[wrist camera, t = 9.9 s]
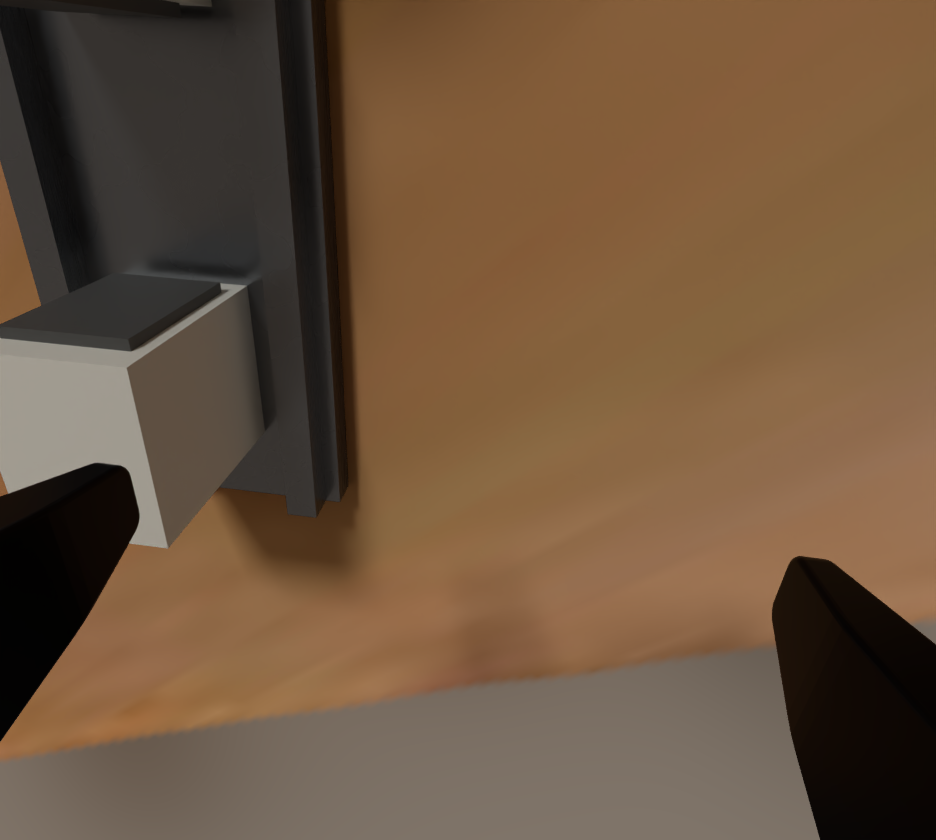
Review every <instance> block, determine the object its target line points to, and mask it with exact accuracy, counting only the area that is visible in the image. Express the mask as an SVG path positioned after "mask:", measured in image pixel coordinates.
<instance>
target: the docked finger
mask: <svg viewBox="0 0 936 840" xmlns="http://www.w3.org/2000/svg"><path fill="white" fill-rule="evenodd" d="M0 5H2V6H11V7H20V8H29V9H37V10H46V11H55V12H74V13H94V14H113V15H132V16H151V17H170V18H181V12H180V5H188V6H208V7H212V2H211V0H0Z"/></svg>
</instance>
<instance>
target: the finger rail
mask: <svg viewBox="0 0 936 840" xmlns="http://www.w3.org/2000/svg"><path fill="white" fill-rule="evenodd" d="M211 2H212V7H208V6H188V5H180V12H181V18H170V17H151V16H132V15H113V14H94V13H74V12H55V11H46V10H37V9H29V8H20V7H11V6H2V5H0V161H1V165H2V168H3V172H4V175H5V179H6V182H7V186H8V189H9V193H10V196H11V200H12V203H13V207H14V210H15V214H16V217H17V221H18V224H19V228H20V232H21V235H22V239H23V242H24V246H25V249H26V253H27V256H28V260H29V263H30V267H31V270H32V274H33V277H34V281H35V284H36V288H37V291H38V295H39V298H40V302H41V305H44V304H46V303H49V302H51V301H53V300H55V299H57V298H60V297H62V296H64V295H66V294H69V293H71V292H73V291H75V290H77V289H80V288H82V287H84V286H86V285H88V284H91V283H93V282H95V281H97V280H100V279H102V278H104V277H106V276H108V275H111V274H113V273H121V274H132V275H143V276H154V277H166V278H177V279H188V280H199V281H210V282H220V283H223V284H234V285H245V286H247V289H248V297H249V305H250V313H251V321H252V330H253V338H254V346H255V354H256V363H257V371H258V379H259V387H260V395H261V404H262V412H263V420H264V428H265V432H264V433H263V435H262V436H261V437H260V438H259V439H258V441H257V442H256V443H255V444H254V445H253V447H252V448H251V449H250V450H249V452H248V453H247V454H246V455H245V456H244V458H243V459H242V460H241V461H240V462H239V464H238V465H237V466H236V467H235V468H234V470H233V471H232V472H231V473H230V474H229V476H228V477H227V478H226V479H225V480H224V482H223V483H222V484H221V485H220V486H219V487H221V488H230V489H238V490H246V491H254V492H262V493H270V494H278V495H286V503H287V512H288V514H291V515H299V516H307V517H315V518H316V517H317V516H318V514H319V512H320V510H321V508H322V507H323V505H324V503H325V501H326V500H327V501H336V502H340V501H341V499H342V497H343V495H344V493H345V491H346V489H347V487H348V469H347V449H346V429H345V408H344V388H343V368H342V348H341V328H340V307H339V287H338V267H337V247H336V227H335V206H334V186H333V166H332V146H331V126H330V106H329V85H328V65H327V45H326V25H325V5H324V0H211Z"/></svg>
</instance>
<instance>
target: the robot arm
mask: <svg viewBox="0 0 936 840" xmlns="http://www.w3.org/2000/svg"><path fill="white" fill-rule="evenodd" d="M139 519H140V513H139V508H138V504H137V500H136V496H135V491H134V487H133V483H132V479H131V476H130V473H129V471H128V470H127V469H126V468H125V467H123V466H121V465H114V464H106V463H92V464H89V465H86V466H83V467H81V468H78V469H75V470H72V471H70V472H67V473H64V474H61V475H58V476H56V477H53V478H50V479H47V480H45V481H42V482H39V483H36V484H34V485H31V486H28V487H25V488H22V489H20V490H17V491H14V492H11V493H9V494H6V495H3V496H0V741H1V740H2V739H3V737H4V736H5V734H6V733H7V731H8V730H9V729H10V727H11V726H12V724H13V723H14V722H15V720H16V719H17V717H18V716H19V714H20V713H21V712H22V710H23V709H24V707H25V706H26V704H27V703H28V702H29V700H30V699H31V697H32V696H33V695H34V693H35V692H36V690H37V689H38V687H39V686H40V685H41V683H42V682H43V680H44V679H45V678H46V676H47V675H48V673H49V672H50V670H51V669H52V668H53V666H54V665H55V663H56V662H57V660H58V659H59V658H60V656H61V655H62V653H63V652H64V651H65V649H66V648H67V646H68V645H69V643H70V642H71V641H72V639H73V638H74V636H75V635H76V633H77V632H78V630H79V629H80V627H81V626H82V624H83V623H84V621H85V620H86V618H87V616H88V615H89V613H90V611H91V610H92V608H93V606H94V605H95V603H96V601H97V599H98V597H99V596H100V594H101V592H102V590H103V589H104V587H105V585H106V583H107V582H108V580H109V578H110V576H111V574H112V573H113V571H114V569H115V567H116V566H117V564H118V562H119V560H120V559H121V557H122V555H123V553H124V551H125V550H126V548H127V546H128V544H129V543H130V541H131V539H132V537H133V535H134V534H135V532H136V530H137V527H138V524H139ZM772 623H773V629H774V635H775V641H776V647H777V653H778V659H779V666H780V672H781V678H782V684H783V690H784V697H785V703H786V709H787V715H788V720H789V726H790V731H791V736H792V740H793V744H794V748H795V751H796V755H797V759H798V762H799V766H800V769H801V773H802V777H803V780H804V784H805V787H806V791H807V794H808V798H809V802H810V805H811V809H812V812H813V816H814V819H815V823H816V827H817V830H818V834H819V837H820V840H936V644H935V643H933V642H932V641H931V640H930V639H928V638H927V637H926V636H924V635H923V634H922V633H921V632H919V631H918V630H917V629H916V628H914V627H913V626H912V625H911V624H909V623H908V622H907V621H906V620H904V619H903V618H902V617H901V616H899V615H898V614H897V613H896V612H894V611H893V610H892V609H891V608H889V607H888V606H887V605H886V604H884V603H883V602H882V601H881V600H879V599H878V598H877V597H876V596H874V595H873V594H872V593H871V592H869V591H868V590H867V589H865V588H864V587H863V586H862V585H860V584H859V583H858V582H857V581H855V580H854V579H853V578H852V577H850V576H849V575H848V574H847V573H845V572H844V571H843V570H842V569H840V568H839V567H838V566H837V565H835V564H834V563H833V562H831V561H829V560H826V559H819V558H811V557H804V556H798V557H795V558H793V559H792V560H791V562H790V563H789V565H788V567H787V570H786V572H785V575H784V577H783V580H782V582H781V585H780V588H779V590H778V593H777V595H776V598H775V600H774V603H773V608H772Z"/></svg>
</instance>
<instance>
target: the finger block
mask: <svg viewBox="0 0 936 840" xmlns="http://www.w3.org/2000/svg"><path fill="white" fill-rule="evenodd" d="M264 432H265V428H264V420H263V412H262V404H261V395H260V387H259V379H258V371H257V363H256V354H255V346H254V338H253V330H252V321H251V313H250V305H249V297H248V289H247V286H245V285H234V284H223V283H220V282H210V281H199V280H188V279H177V278H166V277H154V276H143V275H132V274H121V273H113V274H111V275H108V276H106V277H104V278H102V279H100V280H97V281H95V282H93V283H91V284H88V285H86V286H84V287H82V288H80V289H77V290H75V291H73V292H71V293H69V294H66V295H64V296H62V297H60V298H57V299H55V300H53V301H51V302H49V303H46V304H44V305H42V306H40V307H38V308H35V309H33V310H31V311H29V312H26V313H24V314H22V315H20V316H18V317H15V318H13V319H11V320H9V321H7V322H4V323H2V324H0V472H1V474H2V477H3V480H4V483H5V485H6V488H7V491H8V494H9V493H11V492H14V491H17V490H20V489H22V488H25V487H28V486H31V485H34V484H36V483H39V482H42V481H45V480H47V479H50V478H53V477H56V476H58V475H61V474H64V473H67V472H70V471H72V470H75V469H78V468H81V467H83V466H86V465H89V464H92V463H106V464H114V465H121V466H123V467H125V468H126V469H127V470H128V471H129V473H130V476H131V479H132V483H133V487H134V491H135V496H136V500H137V504H138V508H139V513H140V519H139V524H138V527H137V530H136V532H135V534H134V535H133V537H132V539H131V541H130V543H131V544H138V545H146V546H153V547H161V548H169V547H170V546H171V544H172V543H173V542H174V541H175V540H176V538H177V537H178V536H179V535H180V533H181V532H182V531H183V530H184V529H185V527H186V526H187V525H188V524H189V523H190V521H191V520H192V519H193V518H194V517H195V515H196V514H197V513H198V512H199V511H200V509H201V508H202V507H203V506H204V505H205V503H206V502H207V501H208V500H209V499H210V497H211V496H212V495H213V494H214V492H215V491H216V490H217V489H218V488H219V486H220V485H221V484H222V483H223V482H224V480H225V479H226V478H227V477H228V476H229V474H230V473H231V472H232V471H233V470H234V468H235V467H236V466H237V465H238V464H239V462H240V461H241V460H242V459H243V458H244V456H245V455H246V454H247V453H248V452H249V450H250V449H251V448H252V447H253V445H254V444H255V443H256V442H257V441H258V439H259V438H260V437H261V436H262V435H263V433H264Z"/></svg>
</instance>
